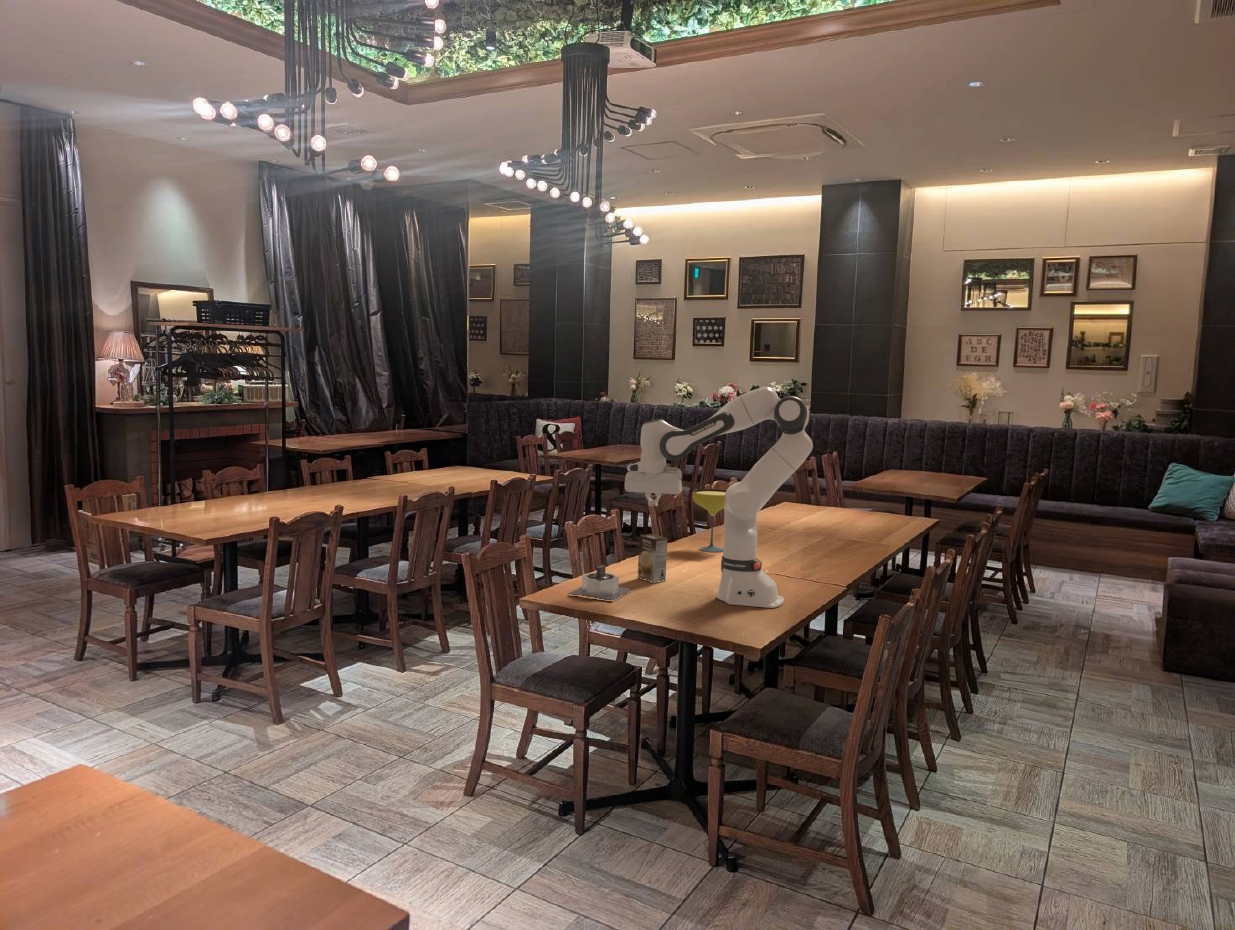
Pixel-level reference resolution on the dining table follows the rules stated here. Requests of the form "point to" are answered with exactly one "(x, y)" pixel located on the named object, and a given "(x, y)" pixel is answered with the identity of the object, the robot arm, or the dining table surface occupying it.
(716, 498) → the cocktail glass
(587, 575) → the octagonal nut on plate
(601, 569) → the cap
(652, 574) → the coffee box
